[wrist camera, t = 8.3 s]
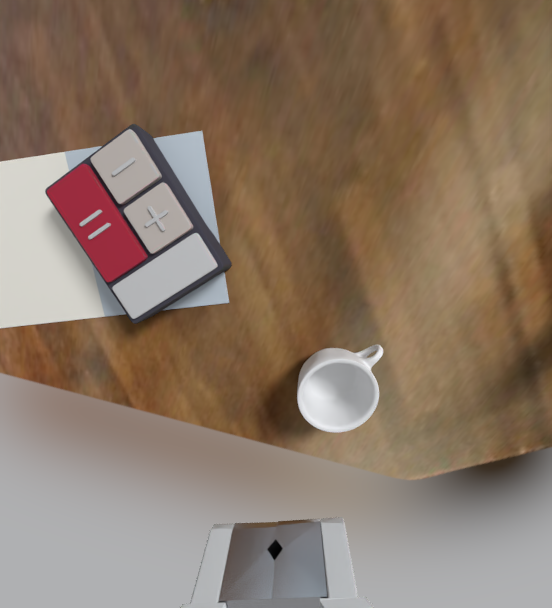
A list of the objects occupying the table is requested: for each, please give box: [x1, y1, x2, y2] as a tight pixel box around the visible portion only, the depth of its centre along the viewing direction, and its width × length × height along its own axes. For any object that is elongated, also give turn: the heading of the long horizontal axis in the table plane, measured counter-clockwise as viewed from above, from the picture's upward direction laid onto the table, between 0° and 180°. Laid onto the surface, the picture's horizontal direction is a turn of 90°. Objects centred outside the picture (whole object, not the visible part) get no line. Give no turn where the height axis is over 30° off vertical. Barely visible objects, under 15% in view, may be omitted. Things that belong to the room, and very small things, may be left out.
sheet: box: [0, 131, 229, 328], centre depth 34 cm, size 17×28×1 cm, turn 97°
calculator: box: [45, 124, 231, 324], centre depth 31 cm, size 11×4×15 cm
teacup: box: [297, 345, 383, 432], centre depth 33 cm, size 10×8×5 cm
